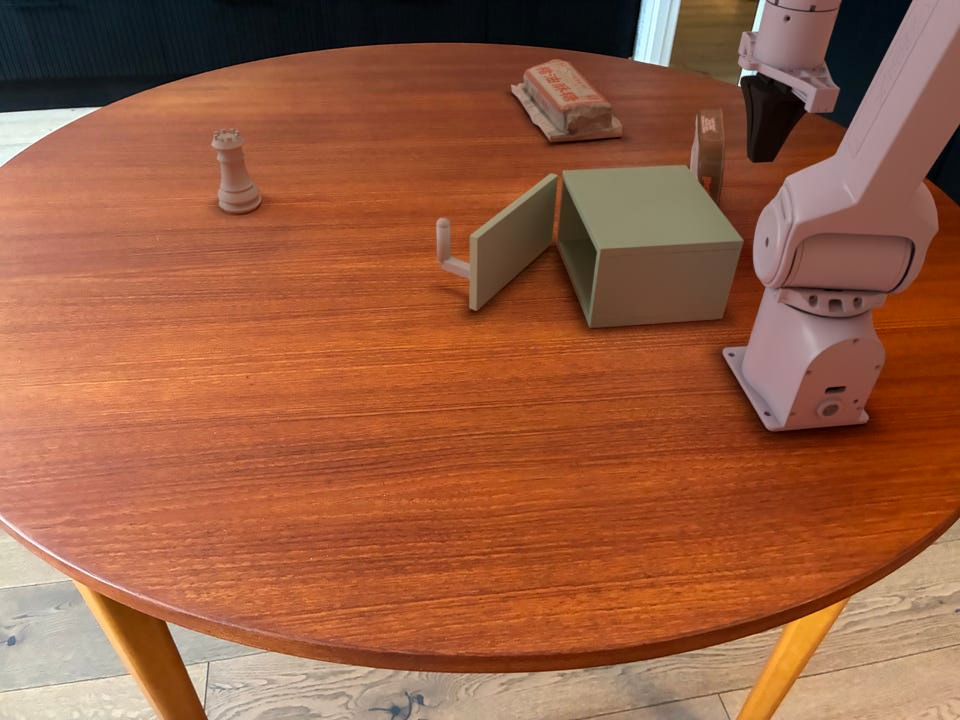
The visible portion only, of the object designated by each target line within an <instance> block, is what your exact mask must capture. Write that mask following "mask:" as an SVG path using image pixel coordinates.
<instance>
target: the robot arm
mask: <svg viewBox="0 0 960 720" xmlns="http://www.w3.org/2000/svg"><path fill="white" fill-rule="evenodd" d="M841 3H842V0H765V1H764V4H763V5H764V6H763V9H762V13H761V18H760V22H759V27H758V31H757V30H755V31H743V32H742V33H741V38H740V42H739V45H738V46H739V47H738V51H737V53H738V54H739V57H738V61H737V65H738V66H740V67H741V68H742V69H743V70H745V71H747V72H748V71H750V72H755V74H747V75H742V76H741V77H740V80H739V86H740V88H741V93H742V95H743V100H744V105H745V113H746V157H747V159H749V161H750V162H751V163H753V164H760V163H761V164H763V163H773V162H774V161H775V159H776V158H777V156H778V154H779V153H780V152H781V149H782V147H783V146H784V144H785V143H786V141H787V139H788V137H789V136H790V134H791V132H792V131H793V129H795V127H796V125H797V124H798V123H799V121H800V120H801V119H802V118H803V117H804V116H805V115H806V113H809V114H819V113H820V114H821V113H824V114H825V113H833V112H834V109H835V106H836V103H837V99H838V97H839V94H840V91H841V88H840V87H839V86H837V84H835V82H834V81H833V78H832V76H831V74H830V71H829V68H828V65H827V63H826V61H825V57H826V53H827V49H828V47H829V42H830V39H831V36H832V34H833V30H834V26H835V23H836V20H837V17H838V14H839V10H840V7H841ZM854 114H855V115H854V116H853V118H852V121H851V122H850V124H849V127H848V128H847V130H846V132H845V134H844V136H843V138H842V140H841V142H840V144H839V146H838V148H837V149H836V152H835V154H834V155H832V156H830V157H828V158H826V159H824V160H822V161H819V162H817V163H815V164H812V165H809V166H807V167H805V168H802V169H801V170H798V171H796V172H793V173H792V174H790V175H788V176H786V177H785V179H784V181H783V183H782V185H781V187H779V190H778V192H777V194H776V195H775V196H774V197H773V198H772V199H771V200H770V201H769V203H768V204H767V205H766V206H765V207H764V208H763V209H762V211H761V213H760V215H759V216H758V219H757V223H756V226H755V230H754V236H753V245H752V261H753V262H752V263H753V269H754V272H755V275H756V277H757V278H758V279H759V281H760V282H761V284H762V285H763V286H764V291H763V295H762V297H761V301H760V304H759V307H758V311H757V313H756V316H755V320H754V323H753V327H752V329H751V333H750V337H749V340H748V343H747V345H744V346H743V345H742V346H728V347H724V348H723V349H722V353H721V354H722V356H723V358H724V359H725V361H726V363H727V365H728V366H729V368H730V369H731V371H732V373H733V375H734V377H736V379H737V382H738V383H739V385H740V387H741V388H742V390H743V392H744V393H745V395H746V397H747V398H748V400H749V402H750V403H751V405H752V407H753V408H754V410H755V412H756V413H757V415H758V417H759V418H760V420H761V422H762V423H763V426H764V427H765V428H766V429H767V430H768V431H769V432H782V431H783V432H784V431H794V430H806V429H807V430H808V429H816V428H827V427H828V428H829V427H838V426H839V427H840V426H852V425H863V424H867V422H868V421H869V419H870V417H869V415H868V413H867V411H865V409H864V408H865V406H866V404H867V402H868V400H869V397H870V395H871V394H872V391H873V389H874V387H875V385H876V383H877V380H878V379H879V376H880V374H881V372H882V370H883V367H884V365H885V363H886V350H885V347H884V345H883V343H882V342H881V340H880V338H879V337H878V334H877V331H876V330H875V327H874V322H873V321H874V320H873V309H882V308H883V307H884V305H885V302H886V300H887V298H888V295H898V294H901V293H903V292H904V291H906V290H907V289H908V288H909V287H910V286H911V285H912V283H913V282H914V281H915V279H917V277H918V275H919V274H920V272H921V271H922V268H923V265H924V262H925V259H926V256H927V255H926V254H927V251H928V248H929V247H930V244H931V242H932V240H933V239H934V237H935V236H936V235H937V233H938V232H939V229H940V228H939V218H938V217H939V216H938V210H937V207H936V203H935V199H934V197H933V195H932V193H931V191H930V189H929V187H928V186H927V185H926V184H925V182H923V181H924V180H925V177H926V176H927V175H928V173H929V172H930V170H931V168H932V167H933V165H934V164H935V162H936V160H937V159H938V158H939V156H940V155H941V153H942V152H943V150H944V149H945V147H946V146H947V144H948V142H949V141H950V139H951V138H952V136H953V135H954V133H955V132H956V130H957V129H958V128H959V125H960V0H912V1H911V3H910V4H909V7H908V9H907V11H906V13H905V15H904V17H903V19H902V21H901V23H900V25H899V27H898V29H897V31H896V33H895V35H894V37H893V39H892V41H891V43H890V45H889V47H888V48H887V50H886V53H885V55H884V56H883V59H882V61H881V62H880V65H879V67H878V68H877V70H876V72H875V74H874V76H873V79H872V81H871V83H870V84H869V86H868V89H867V91H866V92H865V94H864V96H863V98H862V100H861V102H860V104H859V106H858V108H857V111H856V112H855V113H854Z"/></svg>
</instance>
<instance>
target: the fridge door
mask: <svg viewBox="0 0 960 720" xmlns="http://www.w3.org/2000/svg"><path fill="white" fill-rule="evenodd" d="M558 180H559V175H558V174H555V173H552V172H550V173H549V174H547V176H545V177H543V179H541V180H540V181H539V182H537V183H536V184H535V185H534V186H532V187H530V189H528V190H527V191H526V192H524V193H523V194H522V195H520V196H519V197H518V198H516V199H515V200H513V202H511V203H510V204H508V205H507V206H506V207H505V208H503V209H502V210H501V211H500V212H498V213H497V214H496V215H494V216H493V217H492V218H490V219H489V220H488V221H486V222H485V223H484V224H483V225H481V226H480V227H479V228H478V229H476V230H475V231H473V233H471V234H470V235H469V262H467V261H464V260H462V259H459V258H457V257H454V256H451V222H450V220H449V219H448V218H447V217H440V218H438V219H437V220H436V223H435V228H436V230H435V231H436V260H437V263H438V264H439V265H440V269H441V270H443V271H446V272H449V273H451V274H454V275H456V276H459V277H462V278H463V279H467V280H469V293H468V294H469V295H468V296H469V298H468V299H469V300H468V301H469V302H468V303H469V305H468V306H469V309H470V310H473V311H475V312H478V310H480V309H481V308H482V307H484V305H485V304H486V303H487V302H489V301H490V300H492V298H493V297H494V296H496V295H497V294H498V293H499V292H500V291H501V290H502V289H503V288H504V287H505V286H507V284H509V283H510V282H511V281H512V280H513V279H514V278H515V277H516V276H517V275H519V274H520V273H521V272H522V271H523V270H524V269H525V268H527V266H529V265H530V264H531V263H532V262H533V261H534V260H536V259H537V257H539V256H540V255H541V254H542V253H544V251H545V250H546V249H548V248H549V247H550V246H551V245H552V244H553V238H554V225H555V215H556V204H557V193H558Z"/></svg>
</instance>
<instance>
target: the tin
mask: <svg viewBox="0 0 960 720" xmlns="http://www.w3.org/2000/svg"><path fill="white" fill-rule="evenodd" d="M694 120H695V129H694V136H693V143H692V145H691V149H690V157H689V170H690V171H691V172H692V174H693V175H694V176H695V178H696V179H697V180H698V181H699V183H700V184H701V185H702V187H703V188H704V189H705V191H706V192H707V193H708V195H709V196H710V197H711V198H712V200H713V201H714V202H715V204H716V205H717V206H718V207H719V204H720V200H721V194H722V187H723V180H724V173H725V160H726V134H725V124H724V114H723V108H721V107H720V108H699V109H697V110H696V114H695V118H694Z"/></svg>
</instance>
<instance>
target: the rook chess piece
mask: <svg viewBox="0 0 960 720" xmlns="http://www.w3.org/2000/svg"><path fill="white" fill-rule="evenodd" d="M212 136H213V139H212V141H211V144H210V145H211V146H212V148H213V149H214V150H215V151H217V156H216V160H217V161H218V162H219V166H220V177H221V178H220V179H221V181H220V183H219V188H218V190H217V198H218V206H219V208H221V209H222V210H223V211H225V212H227V213H230V214H234V215H235V214H236V215H237V214H246V213H250V212H252V211H254V210H256V209H257V208H258V207H259V206H260V204H261V202H262V196H261V195H260V189H259V187H258V185H257V184H256V183H254V180H253V178H251V176H250V174H249V172H248V169H247V167H246V166H247V165H246V162H245V156H246V154H245V152H244V151H243V149H242V148H243V146H244V144H245V142H246V141H245V139H244V137H242V136H241V134H240V131H239V129H237V130H236V129H235V128H231V127H230V128H229V132H227V129H226V128H220V131H219V130H215V131H214V132H213V135H212Z"/></svg>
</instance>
